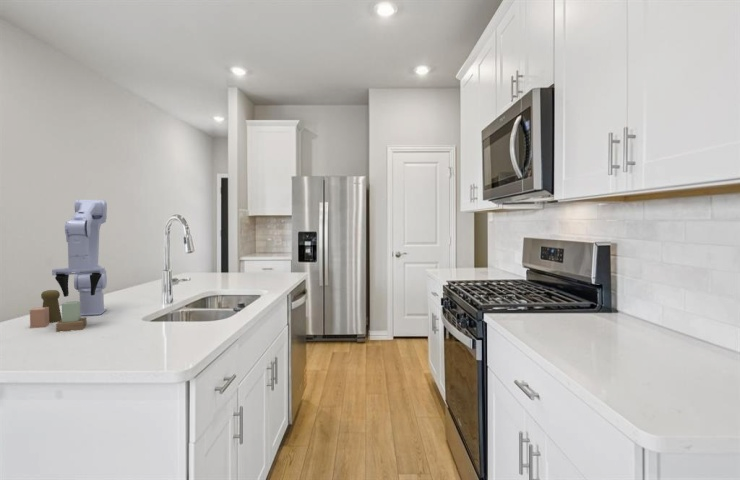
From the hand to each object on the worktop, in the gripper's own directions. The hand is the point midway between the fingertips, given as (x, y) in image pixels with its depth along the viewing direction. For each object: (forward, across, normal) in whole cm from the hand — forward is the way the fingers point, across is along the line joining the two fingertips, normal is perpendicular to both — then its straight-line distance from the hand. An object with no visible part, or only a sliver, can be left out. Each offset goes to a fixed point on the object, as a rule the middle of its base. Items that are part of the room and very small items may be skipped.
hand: (79, 295), depth 139 cm
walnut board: (+11, -1, -3) cm, 11 cm away
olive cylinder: (+11, -12, +10) cm, 19 cm away
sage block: (+8, -2, -4) cm, 9 cm away
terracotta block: (+10, -12, +3) cm, 16 cm away
